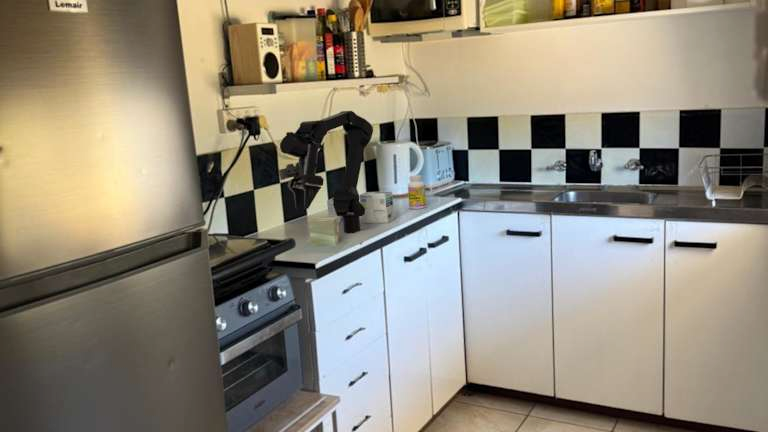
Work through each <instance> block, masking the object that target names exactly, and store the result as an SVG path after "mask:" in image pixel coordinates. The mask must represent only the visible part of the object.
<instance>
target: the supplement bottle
mask: <svg viewBox="0 0 768 432" xmlns="http://www.w3.org/2000/svg"><path fill="white" fill-rule="evenodd" d="M422 179H423V178H422V175H421V174H420V175H418V174H417V175H410V176H409V180H410V181H409V183H408V184H407V190H408V191H407V192H408V195H407V196H408V206H409V207H408V208H409V209H410V210H422V208H423V209H425V208H426V207H427V202H426V187H425V183H424V181H422Z"/></svg>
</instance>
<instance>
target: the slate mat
mask: <svg viewBox="0 0 768 432" xmlns="http://www.w3.org/2000/svg"><path fill="white" fill-rule="evenodd" d="M349 242H350V240H342V241H341V240H340V242H339V243H338V244H337V245H336V246H311V242H306V243H305V244H304V245H302V246H301V247H300V248H298V249H297V250H296V251H294V252H293V253H292V255H310V254H311V255H313V254H316V255H317V254H337V253H339V252H340V251H341V250H342V249H343V248H344V247H345V246H346V245H347V244H348V243H349Z"/></svg>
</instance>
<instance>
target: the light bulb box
mask: <svg viewBox="0 0 768 432" xmlns="http://www.w3.org/2000/svg"><path fill="white" fill-rule="evenodd" d="M393 197H394V195H393V191H391V190H390V191H366V192H363V193H360V194H359V202H360V203H361V204H362V206H363V207H364V208H365V214H364V215H363V216H361V223H362V224H388V223H390V222H392V221H395V218H396V217H395V210H394V200H393V199H394V198H393Z"/></svg>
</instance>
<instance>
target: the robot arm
mask: <svg viewBox="0 0 768 432" xmlns="http://www.w3.org/2000/svg"><path fill="white" fill-rule="evenodd" d="M339 127H342V130H344V131H345V132H346V133H347V134H346V135H347V136H346V138H347V141H348V144H349V149H348V154H347V159H346V165H345V169H344V170H345V171H344V175H343V180H342V184H341V185H340V187H339V188H335V190H334V196H333V197H334V198H333V197H332V198H333V200H334V201H333V206H334V209H335V211H336V214H337V216H343V221H342V224H343V233H344V234H346V235H347V234H355V233H358V232H361V231H364V229H361V222H360V221H361V220H360V217H362V216H363V215H364V214H365V208H364V207H363V206H362V204H361V203H360V194H359V191H358V182H359V178H360V177H359V176H360V172H361V167H362V161H363V158H364V152H365V149H366V147H367V146H368V144H369V143H370V142H371V139H372V137H373V132H374V128H373V125H372V124H371V123H370V122H369V121H367V119H365V118H364V117H362V116H360V115H358V114H356V113H355V112H354V111H353V110H345V111H344V110H342V111H340V112H338V113H335V114H333V115H330V116H328V117H324V118H322V119H319V120H308V121H302V122H301V123H300V124H299V127H298V128H297V130H296V131H295V132H292V131H287V132H286V133H285V136H284V137H283V138H282V139H281V141H280V143H279V148H280V151H281V153H283V154H286V155H289V156H291V157H292V156H293V157H295V158H298V161H297V162H296V163H295V164H293V163H289V164H286V166H285V168H281V169H279V170H278V173H279V179H280V180H281V181H283V180H286V179H290V180H288V182H287V188H288V190H289V191H291V193H293V198H294V204H295V205H294V206H295V210H296V211H300V210H301V207H302V206H303V204H304V209H306V210H308V209H309V208H310V206H311V204H312V203H313V201H314V200H315V198H316V197H317V194H318V193H319V191H320V190H321V188H322V186H324V178H323V176H321V175H316V172H317V168H318V167H319V164H318V155H319V150H321V149H322V150H323V149H324V146H323V144H321V142H320V139H322V138H323V137H325V136H326V135H327V134H328V132H330V131H331V130H335V129H337V128H339Z"/></svg>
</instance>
